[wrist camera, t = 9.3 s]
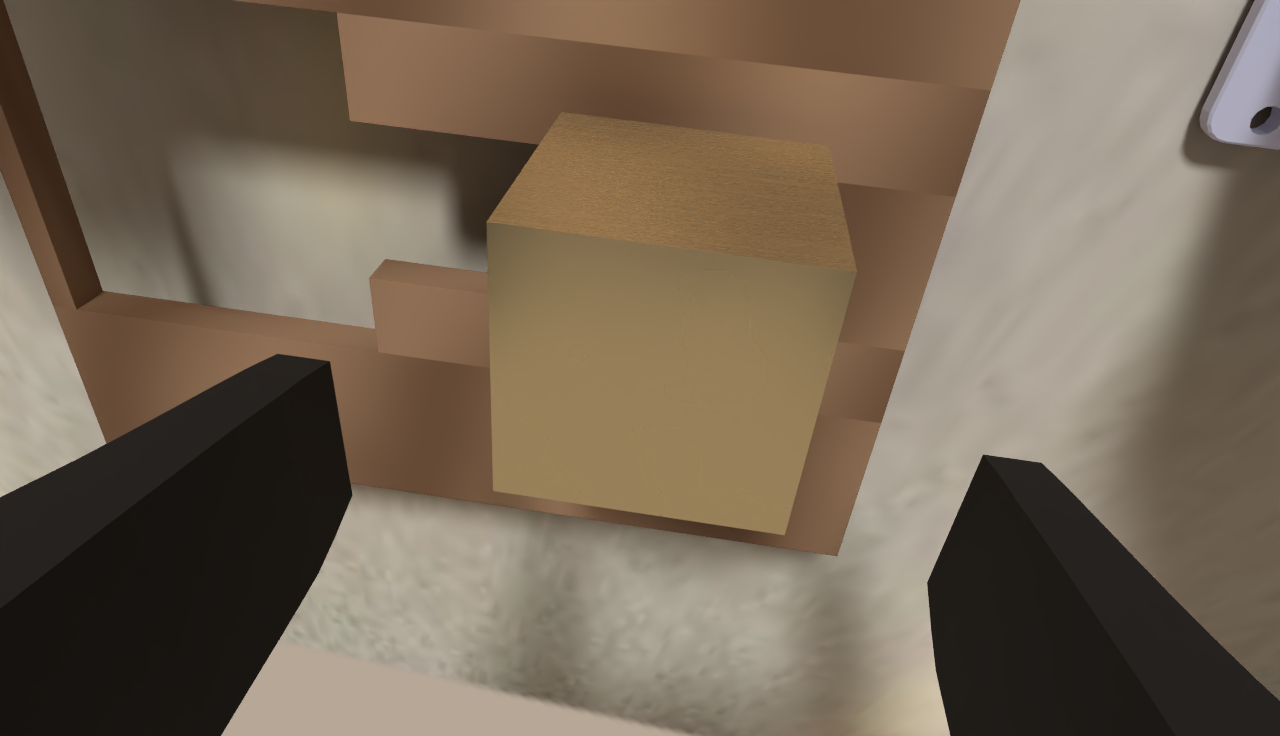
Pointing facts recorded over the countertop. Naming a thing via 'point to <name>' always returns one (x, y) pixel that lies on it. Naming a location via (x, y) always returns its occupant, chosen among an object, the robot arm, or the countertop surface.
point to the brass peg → (664, 319)
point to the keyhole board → (524, 112)
